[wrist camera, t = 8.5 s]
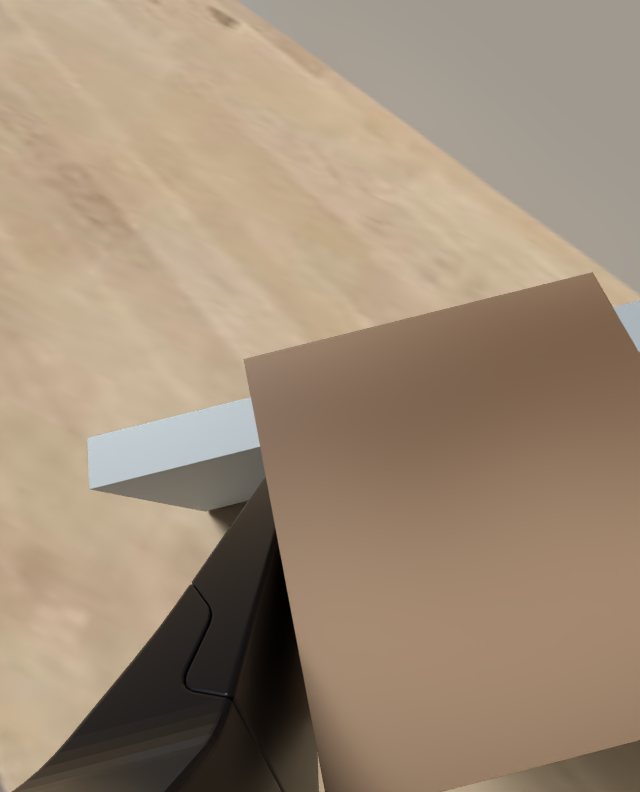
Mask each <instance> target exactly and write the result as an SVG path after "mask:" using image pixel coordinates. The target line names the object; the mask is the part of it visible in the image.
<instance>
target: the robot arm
mask: <svg viewBox="0 0 640 792" xmlns="http://www.w3.org/2000/svg"><path fill="white" fill-rule="evenodd" d="M12 792H319V782H318V754H317V746H316V741H315V735H314V730H313V725H312V720H311V714H310V709H309V704H308V698H307V693H306V688H305V682H304V677H303V672H302V666H301V661H300V656H299V650H298V645H297V640H296V634H295V629H294V624H293V619H292V613H291V608H290V603H289V597H288V592H287V587H286V581H285V576H284V571H283V565H282V560H281V555H280V549H279V544H278V539H277V533H276V528H275V523H274V518H273V512H272V507H271V502H270V496H269V491H268V486H267V480H266V476H265V477H264V479H263V480H262V481H261V483H260V484H259V486H258V487H257V489H256V490H255V492H254V493H253V494H252V496H251V497H250V499H249V500H248V502H247V503H246V505H245V506H244V507H243V509H242V510H241V512H240V513H239V515H238V516H237V517H236V519H235V520H234V522H233V523H232V525H231V526H230V528H229V529H228V530H227V532H226V533H225V535H224V536H223V538H222V539H221V541H220V542H219V543H218V545H217V546H216V548H215V549H214V551H213V552H212V554H211V555H210V556H209V558H208V559H207V561H206V562H205V564H204V565H203V566H202V568H201V569H200V571H199V572H198V574H197V575H196V577H195V578H194V579H193V581H192V585H189V586H188V588H187V589H186V591H185V592H184V594H183V595H182V596H181V598H180V599H179V601H178V602H177V604H176V605H175V606H174V608H173V609H172V610H171V612H170V613H169V615H168V616H167V617H166V619H165V620H164V621H163V623H162V624H161V625H160V627H159V628H158V629H157V631H156V632H155V633H154V634H153V636H152V637H151V638H150V640H149V641H148V642H147V643H146V645H145V646H144V647H143V648H142V650H141V651H140V652H139V653H138V655H137V656H136V657H135V658H134V660H133V661H132V662H131V663H130V664H129V666H128V667H127V668H126V669H125V671H124V672H123V673H122V674H121V675H120V677H119V678H118V679H117V680H116V681H115V683H114V684H113V685H112V686H111V687H110V689H109V690H108V691H107V692H106V694H105V695H104V696H103V697H102V698H101V700H100V701H99V702H98V703H97V704H96V706H95V707H94V708H93V709H92V711H91V712H90V713H89V714H88V715H87V717H86V718H85V719H84V720H83V721H82V723H81V724H80V725H79V726H78V727H77V729H76V730H75V731H74V732H73V734H72V735H71V736H70V737H69V738H68V740H67V741H66V742H65V743H64V744H63V745H62V746H61V748H60V749H59V750H58V751H57V752H56V753H55V754H54V755H53V756H52V757H51V758H50V759H49V760H48V761H47V762H46V763H45V764H44V765H43V766H42V767H41V768H40V769H39V770H38V771H37V772H36V773H35V774H34V775H32V776H31V777H30V778H29V779H28V780H27V781H25V782H24V783H23V784H22V785H20V786H19V787H18V788H16V789H15V790H13V791H12Z"/></svg>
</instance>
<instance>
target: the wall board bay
mask: <svg viewBox="0 0 640 792" xmlns="http://www.w3.org/2000/svg"><path fill="white" fill-rule="evenodd" d="M613 308H614V310H615V312H616V313H617V315H618V317H619V319H620V320H621V322H622V324H623V325H624V327H625V329H626V331H627V332H628V334H629V336H630V337H631V339H632V341H633V343H634V344H635V346H636V348H637V350H638V351H639V353H640V301H636V302H632V303H628V304H624V305H620V306H616V307H613ZM88 463H89V489H91V490H96V491H101V492H107V493H112V494H117V495H122V496H127V497H133V498H138V499H143V500H148V501H153V502H159V503H164V504H169V505H174V506H180V507H185V508H190V509H195V510H200V511H209V510H213V509H217V508H221V507H225V506H229V505H233V504H237V503H241V502H245V501H248V500H249V499H250V497H251V496H252V494H253V493H254V492H255V490H256V489H257V487H258V486H259V484H260V483H261V481H262V480H263V479H264V477H265V476H266V475H265V470H264V464H263V459H262V454H261V448H260V443H259V438H258V432H257V427H256V422H255V417H254V411H253V406H252V401H251V397H250V398H246V399H242V400H238V401H234V402H230V403H226V404H222V405H218V406H214V407H210V408H206V409H202V410H198V411H194V412H190V413H186V414H182V415H178V416H174V417H170V418H165V419H161V420H157V421H153V422H149V423H145V424H141V425H137V426H133V427H129V428H125V429H121V430H117V431H113V432H109V433H105V434H101V435H97V436H93V437H89V438H88Z"/></svg>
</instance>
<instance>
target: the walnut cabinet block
mask: <svg viewBox="0 0 640 792" xmlns="http://www.w3.org/2000/svg"><path fill="white" fill-rule="evenodd" d="M244 363H245V369H246V374H247V379H248V385H249V390H250V395H251V401H252V406H253V411H254V417H255V422H256V427H257V432H258V438H259V443H260V448H261V454H262V459H263V464H264V470H265V475H266V480H267V486H268V491H269V496H270V502H271V507H272V512H273V518H274V523H275V528H276V533H277V539H278V544H279V549H280V555H281V560H282V565H283V571H284V576H285V581H286V587H287V592H288V597H289V603H290V608H291V613H292V619H293V624H294V629H295V634H296V640H297V645H298V650H299V656H300V661H301V666H302V672H303V677H304V682H305V688H306V693H307V698H308V704H309V709H310V714H311V720H312V725H313V730H314V735H315V741H316V746H317V751H318V757H319V762H320V767H321V773H322V778H323V783H324V789H325V792H443V791H447V790H450V789H454V788H458V787H462V786H466V785H470V784H473V783H477V782H481V781H485V780H489V779H493V778H497V777H500V776H504V775H508V774H512V773H516V772H520V771H523V770H527V769H531V768H535V767H539V766H543V765H547V764H550V763H554V762H558V761H562V760H566V759H570V758H573V757H577V756H581V755H585V754H589V753H593V752H596V751H600V750H604V749H608V748H612V747H616V746H620V745H623V744H627V743H631V742H635V741H639V740H640V353H639V351H638V350H637V348H636V346H635V344H634V343H633V341H632V339H631V337H630V336H629V334H628V332H627V331H626V329H625V327H624V325H623V324H622V322H621V320H620V319H619V317H618V315H617V313H616V312H615V310H614V308H613V307H612V305H611V303H610V301H609V300H608V298H607V296H606V294H605V293H604V291H603V289H602V288H601V286H600V284H599V282H598V281H597V279H596V277H595V276H594V274H593V272H592V273H588V274H584V275H580V276H576V277H572V278H568V279H564V280H560V281H556V282H552V283H548V284H544V285H540V286H536V287H532V288H528V289H524V290H520V291H516V292H512V293H508V294H504V295H500V296H496V297H492V298H488V299H484V300H480V301H476V302H472V303H468V304H464V305H460V306H455V307H451V308H447V309H443V310H439V311H435V312H431V313H427V314H423V315H419V316H415V317H411V318H407V319H403V320H399V321H395V322H391V323H387V324H383V325H379V326H375V327H371V328H367V329H363V330H359V331H355V332H351V333H347V334H343V335H339V336H335V337H331V338H327V339H323V340H319V341H315V342H311V343H307V344H303V345H299V346H295V347H291V348H287V349H283V350H279V351H275V352H271V353H267V354H263V355H259V356H255V357H251V358H247V359H244Z"/></svg>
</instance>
